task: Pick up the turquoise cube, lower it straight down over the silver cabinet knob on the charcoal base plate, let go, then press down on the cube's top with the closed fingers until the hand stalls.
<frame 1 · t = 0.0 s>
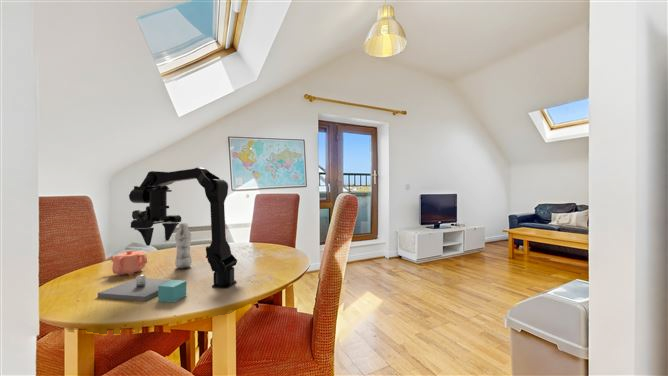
hand: (158, 243, 104), 15 cm above the table, tool pointing down, fingers open, 9 cm apart
silver cabinet knob: (141, 280, 94), on the base plate, point 3 cm above the table
base plate: (141, 290, 94), on the table
turquoise cube: (172, 298, 87), on the table
plastic bottle: (183, 268, 120), on the table
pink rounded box: (128, 273, 113), on the table
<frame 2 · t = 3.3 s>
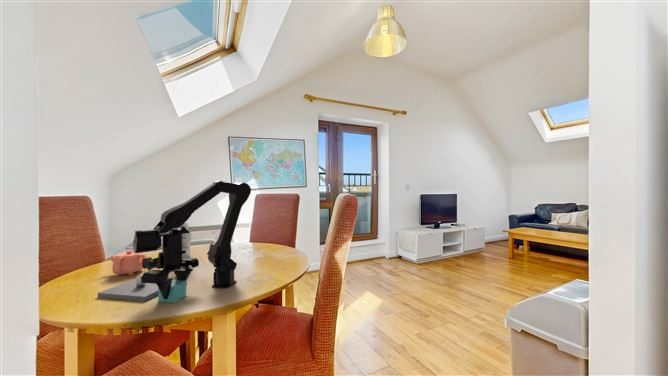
hand: (172, 295, 87), 1 cm above the table, tool pointing down, fingers closed on turquoise cube, 6 cm apart
turquoise cube: (172, 298, 87), on the table, touching gripper
everything else where it was.
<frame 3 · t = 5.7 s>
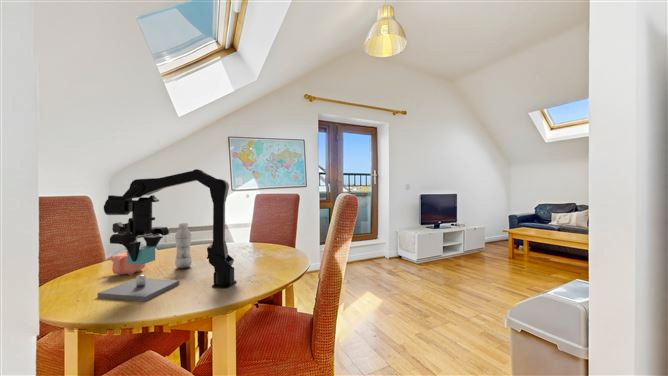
hand: (141, 259, 93), 11 cm above the table, tool pointing down, fingers closed on turquoise cube, 6 cm apart
turquoise cube: (141, 261, 93), point 10 cm above the table, touching gripper
everything else where it was.
when the fingers open (3 cm above the table, at t = 8.4 s): turquoise cube stays where it is, resting on base plate.
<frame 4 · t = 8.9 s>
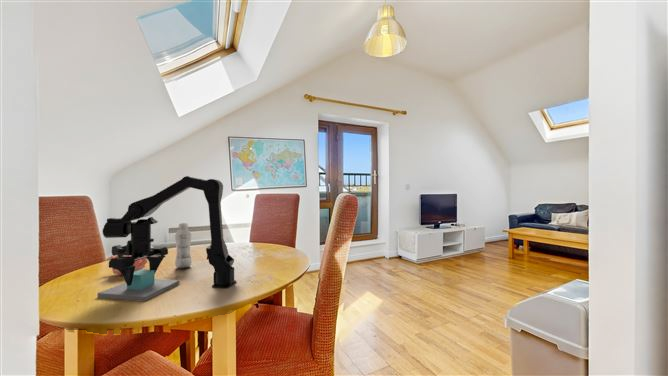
hand: (141, 280, 94), 3 cm above the table, tool pointing down, fingers open, 9 cm apart
turquoise cube: (141, 286, 94), point 1 cm above the table, touching base plate
everything else where it was.
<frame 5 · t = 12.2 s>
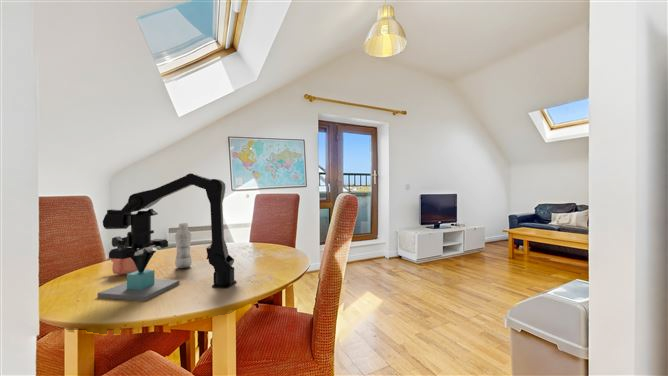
hand: (141, 272, 94), 6 cm above the table, tool pointing down, fingers closed, pressing on turquoise cube
turquoise cube: (141, 286, 94), point 1 cm above the table, touching base plate, gripper
everything else where it was.
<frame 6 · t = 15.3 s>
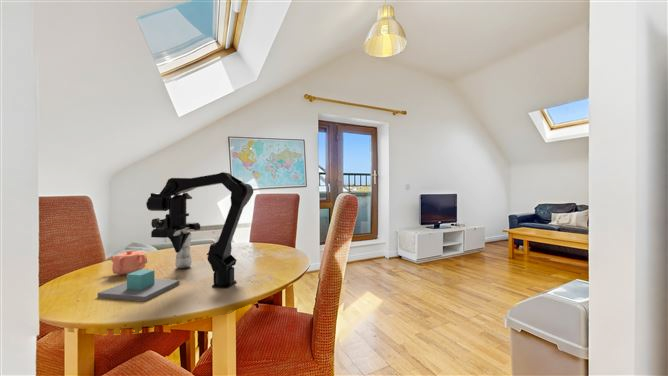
hand: (177, 252, 100), 12 cm above the table, tool pointing down, fingers closed
turquoise cube: (141, 286, 94), point 1 cm above the table, touching base plate
everything else where it was.
at the end: turquoise cube 0.0 cm from the silver cabinet knob (horizontally); turquoise cube point 1.5 cm above the table; turquoise cube tilted 0° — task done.
